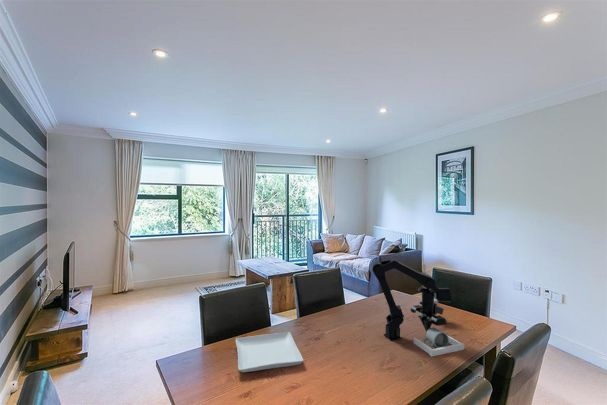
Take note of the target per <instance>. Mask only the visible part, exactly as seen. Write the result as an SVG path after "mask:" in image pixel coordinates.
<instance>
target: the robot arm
mask: <svg viewBox="0 0 607 405" xmlns="http://www.w3.org/2000/svg"><path fill="white" fill-rule="evenodd" d="M394 269H395V270H397V271H399V272H401V273H402V274H404V275H406V276H408V277H410V278H412V279H414V280H416V281H417V282H418V283H419V284H420V285H422V286H420V287H418V288H417V291H418V292H419V293H421V297H422V302H421V301H419V304H417V305H412V306H411V307H410V312H411V313H413V314H416V313H417V312H418V313H419V314H418V315H417V317H418V318H419V320H420V322H421V324H422V325H423V327H424V330H425V333H427V330H428V329H429V328H432V325H435V326H442V325H447V319H446V318H445V317H444V316H443V313H444V310H445V309H444V308H443V307H441V306H439V305H438V304H437V305H436V303H434V298H435V299H437V301H438V303H440V302H441V303H451V302H452V294H451V291H450V288H449V287H438V285H436V280H435V278H433V277H432V276H431V275H430V274H428V273H424V272H420V271H418V270H415V269H413V268H412V267H410V266H407V265H406V264H404V263H402V262H400V261H398V260H397V259H394V258H392V259H389V260H387V259H386V260H381V261H378V260H376V261H373V262H372V264H371V270H372V272H373V274H374V276H375V278H376V279H377V281H378V282H379V284H380V287H381V290H382V291H383V292H382V293H383V295H384V298H385V300H386V302H387V305H388V311H389V314H388V315H387V316H386V317H385V320H386V322H387V323H386V324H385V333H383V336H384V337H385V338H386V339H388V340H389V341H391V342H392V341H397V340H401V339H402V336H401V327H400V326H401V325H402V324H403V323H404V318H405V314H404V313H403V311H402V308H401V305H400V304H398V305H397V304H396V301H395V300H394V296H393V294H392V291H391V289H390V286H389V283H388V281H387V277H386V273H387V272H389V271H392V270H394ZM434 314H436V316H435V315H434ZM438 314H439V315H438Z"/></svg>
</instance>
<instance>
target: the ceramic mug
mask: <svg viewBox="0 0 607 405" xmlns="http://www.w3.org/2000/svg"><path fill="white" fill-rule="evenodd" d="M425 333H426V334H425V336H426V337H425V338H423V339H422V341H421V342H423V343H424V344H426V345H427V346H429V347H430V348H432V347H434V348H435V347H436V348H441V347H445V346H449V338H448V336H449V335H448V336H447V333H445V332H444V331H442V330H440V329H439V328H436V327H434V326H433V327H432V326H431V327H430V328H429V329H428V330H427V332H425ZM427 341H428V342H429V343H426V342H427Z"/></svg>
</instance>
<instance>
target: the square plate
mask: <svg viewBox="0 0 607 405" xmlns="http://www.w3.org/2000/svg"><path fill="white" fill-rule="evenodd" d="M235 345H236V350H237V352H236V353H237V369H238V370H239V372H241V373H248V372H256V371H257V372H258V371H264V370H270V369H276V368H286V367H291V366H292V367H293V366H298V365H301V364H302V363H303V362H304V358H303V356H302V354H301V351H300V350H299V349H298V346H297V344H296V342H295V339H294V338H293V336H292V334H291V332H289V331H286V332H276V333H275V332H274V333H265V334H257V335H251V336H244V337H237V338H235Z"/></svg>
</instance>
